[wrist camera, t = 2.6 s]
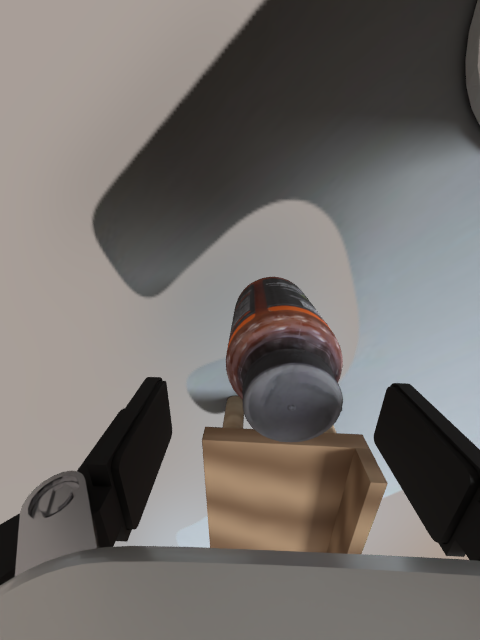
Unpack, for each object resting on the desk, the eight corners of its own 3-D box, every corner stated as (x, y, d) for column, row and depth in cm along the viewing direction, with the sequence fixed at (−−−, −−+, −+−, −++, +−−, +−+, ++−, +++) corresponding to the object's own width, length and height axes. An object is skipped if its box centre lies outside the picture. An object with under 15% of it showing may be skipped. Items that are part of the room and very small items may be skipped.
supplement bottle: (234, 339, 21) (214, 455, 10) (236, 273, 19) (213, 335, 8) (301, 343, 21) (351, 466, 10) (312, 276, 18) (388, 345, 8)
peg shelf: (215, 385, 23) (194, 471, 15) (339, 391, 22) (387, 483, 14) (219, 491, 29) (206, 592, 21) (317, 497, 28) (342, 604, 20)
